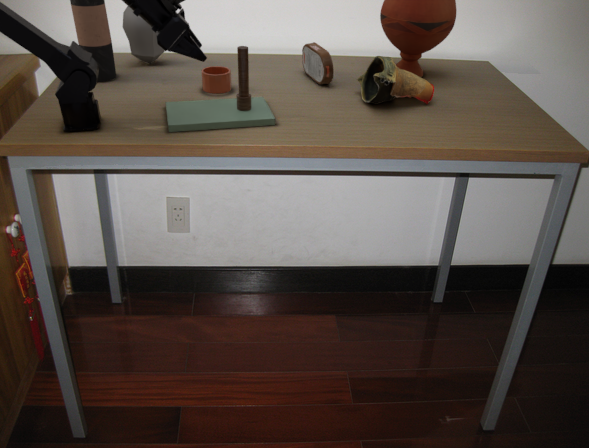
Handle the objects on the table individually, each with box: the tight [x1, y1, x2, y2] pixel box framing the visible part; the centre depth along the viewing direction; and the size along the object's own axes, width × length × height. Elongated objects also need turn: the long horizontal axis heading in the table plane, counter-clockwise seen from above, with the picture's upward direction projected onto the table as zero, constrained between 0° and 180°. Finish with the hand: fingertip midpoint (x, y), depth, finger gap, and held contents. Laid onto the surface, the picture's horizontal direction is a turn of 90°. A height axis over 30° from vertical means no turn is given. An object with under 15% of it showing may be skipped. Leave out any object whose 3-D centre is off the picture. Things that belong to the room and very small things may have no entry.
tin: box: [301, 42, 335, 85], centre depth 128 cm, size 15×3×8 cm, turn 22°
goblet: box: [379, 0, 457, 78], centre depth 130 cm, size 19×19×25 cm
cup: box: [200, 65, 233, 95], centre depth 119 cm, size 7×7×5 cm
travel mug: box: [69, 0, 117, 83], centre depth 120 cm, size 8×8×20 cm
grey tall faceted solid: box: [122, 5, 166, 65], centre depth 128 cm, size 11×11×30 cm
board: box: [165, 96, 276, 133], centre depth 107 cm, size 22×13×2 cm, turn 104°
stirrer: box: [235, 45, 252, 111], centre depth 104 cm, size 3×3×13 cm
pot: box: [356, 55, 435, 105], centre depth 116 cm, size 17×11×18 cm
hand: (202, 53), depth 100 cm, fingers open, 9 cm apart
